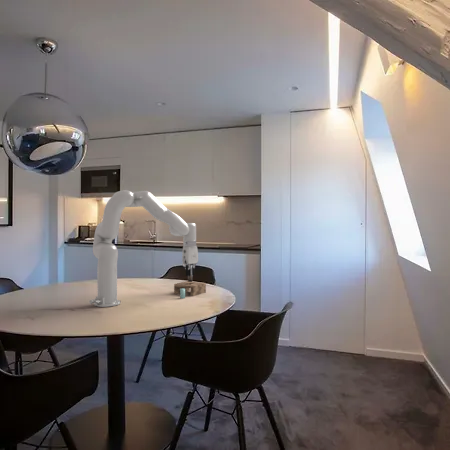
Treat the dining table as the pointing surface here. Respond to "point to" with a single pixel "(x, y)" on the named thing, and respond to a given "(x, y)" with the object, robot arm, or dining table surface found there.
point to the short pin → (182, 293)
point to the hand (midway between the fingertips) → (190, 275)
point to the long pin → (191, 274)
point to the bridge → (195, 287)
